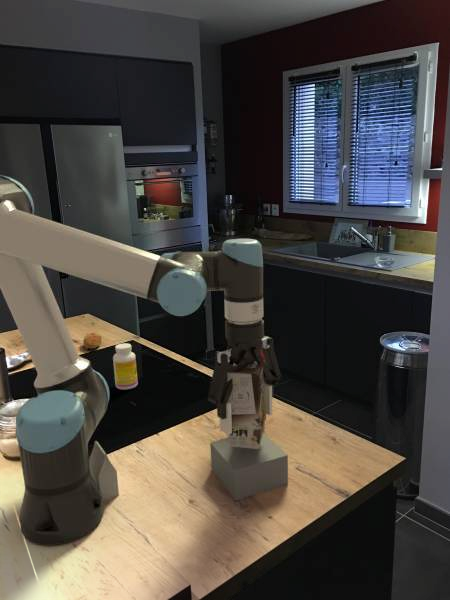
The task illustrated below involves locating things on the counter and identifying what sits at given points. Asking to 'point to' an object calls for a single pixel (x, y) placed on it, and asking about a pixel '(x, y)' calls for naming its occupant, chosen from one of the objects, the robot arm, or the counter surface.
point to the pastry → (92, 340)
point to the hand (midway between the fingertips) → (246, 421)
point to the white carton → (103, 473)
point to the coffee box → (247, 406)
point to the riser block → (249, 467)
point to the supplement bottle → (125, 367)
